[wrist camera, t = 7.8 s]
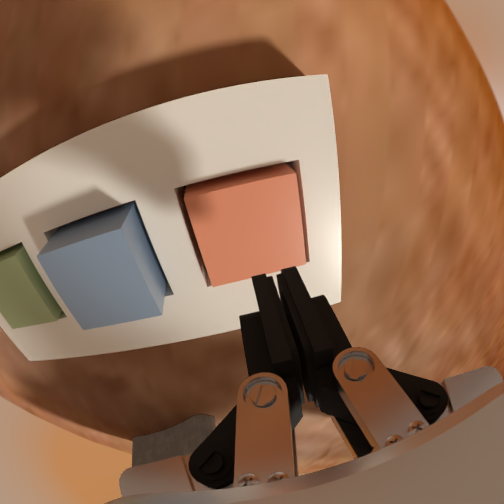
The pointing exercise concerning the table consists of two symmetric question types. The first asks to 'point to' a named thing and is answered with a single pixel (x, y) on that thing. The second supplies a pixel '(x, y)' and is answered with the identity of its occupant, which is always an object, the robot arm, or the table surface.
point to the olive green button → (24, 291)
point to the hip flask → (172, 440)
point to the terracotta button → (247, 222)
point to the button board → (179, 203)
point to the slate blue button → (106, 268)
